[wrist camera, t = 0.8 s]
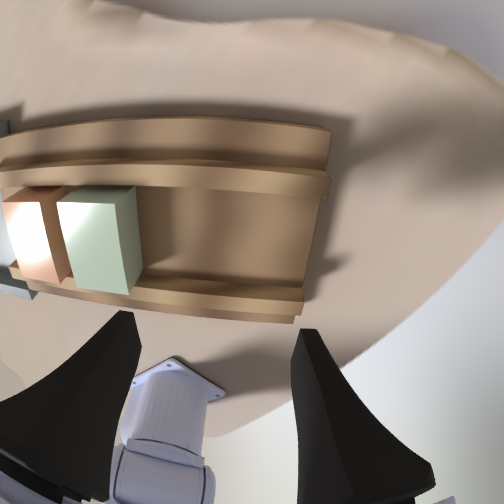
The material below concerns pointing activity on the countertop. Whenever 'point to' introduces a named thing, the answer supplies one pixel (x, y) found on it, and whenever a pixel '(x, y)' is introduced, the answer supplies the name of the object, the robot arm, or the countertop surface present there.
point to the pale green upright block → (102, 237)
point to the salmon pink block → (37, 232)
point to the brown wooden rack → (192, 206)
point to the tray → (9, 251)
